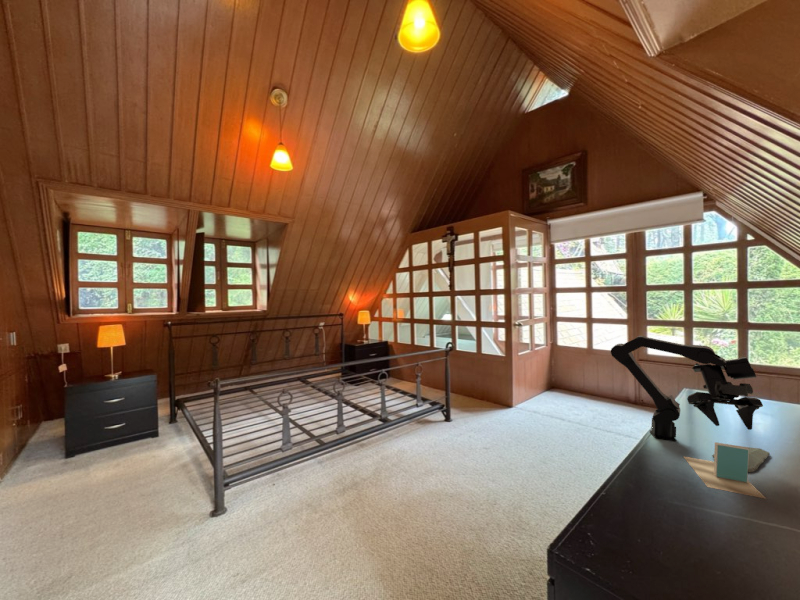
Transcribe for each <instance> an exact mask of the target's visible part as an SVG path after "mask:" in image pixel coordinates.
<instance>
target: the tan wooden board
mask: <svg viewBox="0 0 800 600" xmlns="http://www.w3.org/2000/svg"><path fill="white" fill-rule="evenodd" d="M683 459H684V460H686V462H687V463H688V465H689V466H690V468H691V469H692V470H693V471H694V472H695V473H696V474H697V476H698V477H699V478H700V479H701V481H702V482H703V483H704V484H705V486H706V487H707V488H711V489H717V490H722V491H726V492H731V493H736V494H740V495H745V496H746V495H747V496H751V497H756V498H761V499H767V497H765V496H764V494H762V493H761V491H759V490H758V489H757V488H756V487H755V486H754V485H753V484H752V482H750V481H749V480H748V479H747V482H741V481H736V480H731V479H726V478H720V477H716V476H715V475H714V460H713V461H711V460H706V459H699V458H695V457H689V456H683Z"/></svg>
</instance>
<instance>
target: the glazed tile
mask: <svg viewBox="0 0 800 600" xmlns="http://www.w3.org/2000/svg"><path fill="white" fill-rule="evenodd" d="M748 455H749V449H748V448H747V446H743V445H742V446H741V445H734V444H729V443H722V442H714V458H713V462H714V475H715V476H716V477H720V478H726V479H731V480H736V481H741V482H747V480H748V474H749V472H748Z"/></svg>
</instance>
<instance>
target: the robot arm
mask: <svg viewBox="0 0 800 600" xmlns="http://www.w3.org/2000/svg"><path fill="white" fill-rule="evenodd" d="M640 348H646V349H652V350H656V351H660V352H666V353H671V354H675V355H678V356H681V357H685V358H687V359H689V360H691V361H695V362H696V363H695V364H694V365H693V366H692V368H691V369H692V371H693V372H694V373H700V374H701V376H702V379H703V381H704V385H702V386H703V389H705V390H707V392H704V391H703V392H701V391H696V392H694V393H692V394H689V395H687V402H688V403H687V404H689V405H693V407H694V408H696V409H697V410H699V411H700V412H701V413H702V414H704V415H705V417H707V418H708V419H709V420H710V422H712V423H713V424H714V425H715V426H716V427H719V426H720V421H719V418H718V415H717V413H716V411H715V404H721V405H729V406H730V405H732V406H734V408H735V409H736V410H735V411H736V413H737V415H738V416H739V418H740V420H741V422H742V423H743V424H744V426H745V428H746V429H747V430H749V431H750V430H751V431H752V429H753V419H754V418H753V417H754V414H755V411H757V410H759V409H760V408H761V407H764V405H763V402H762V400H761V399H759V398H757V397H751V396H749V395H753V394H754V390H753V386H751V383H746V382H745V383H742V382H741V383H739V385H738V384H737V385H736V384H733V383H732V381H727V378H731V379H733V380H744V379H753V378H757V375H756V373H755V371H754V370H755V369H754V368H753V366H752V365H751V363H750V361H749V359H748V357H746V356H745V357H744V356H743V357H742V356H741V357H738V358H733V359H726V358H723V357H722V356H720V355H719V354H717V353H716V352H715V351H714V349H713V348H712V347H710V346H708V345H702V344H701V345H700V344H699V345H698V344H681V343H677V342H671V341H668V340H667V341H666V340H663V339H657V338H652V337H647V336H644V335H638V336H636V337H635V338H632V339H631V340H629V341H628V342H627V341H626V342H625V343H617V344H615V345H614V346H612V347H611V349H610V355H611V356H612V358H614V359H615V360H616V361H617V362H618V363H619V364H621V365H623V366H624V367H626V369H627V370H628V371H629V372H630V373H631V375H632V376H633V377H634V378H635V379H636V381H637V382H638V383H639V385H640V386H641V387H642V388H643V389H644V390H645V391H646V393H647V394H648V395H649V396H650V398H651V399H652V401H653V403H654V405H655V408H656V409H655V410H654V412H653V415H652V417H651V430H649V432H650V434H651V435H652V436H653V437H654V438H655V439H660V440H665V441H674V442H677V439H676V438H677V426H676V425H675V424H676V423H675V422H674V421H677V420H679V418H680V414H681V407H680V403H679V402H678V401H676V400H675V398H674V396H673V395H672V394H670V395H669V396H668V395H666V394H665V393H664V392H662V390H661V389H660V388H659V387H658V385H657V384H656V383H655V382H654V381H653V380H652V378H651V377H650V376H649V375H648V374H647V373H646V371H645V370H644V369H643V368H642V367H641V366H640V364H639V363H638V362H637V360H636V358H635V355H634V354H633V352H634V351H636V350H639V349H640ZM723 370H724V371H725V373H726V376H727V378H726V376H725V373H724V371H723ZM740 396H744V397H741V398H739V397H740ZM737 398H739V399H737ZM652 427H653V428H652Z"/></svg>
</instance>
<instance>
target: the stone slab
mask: <svg viewBox="0 0 800 600" xmlns="http://www.w3.org/2000/svg"><path fill="white" fill-rule="evenodd" d="M746 447H747V446H746ZM747 448H748V449H749V455H748V473H753V472H755V471H757V470H758V468H759V467H760V466H761V465H762V464H763V463H764V462H765V460H766V459H767V458H768V457H769V456H770V455H771V454H770V452H769V451H767V450H765V449H762V448H760V447H759V448H758V447H750V446H749V447H747ZM711 457H712V458H713V459H714V454H712V455H711Z"/></svg>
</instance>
